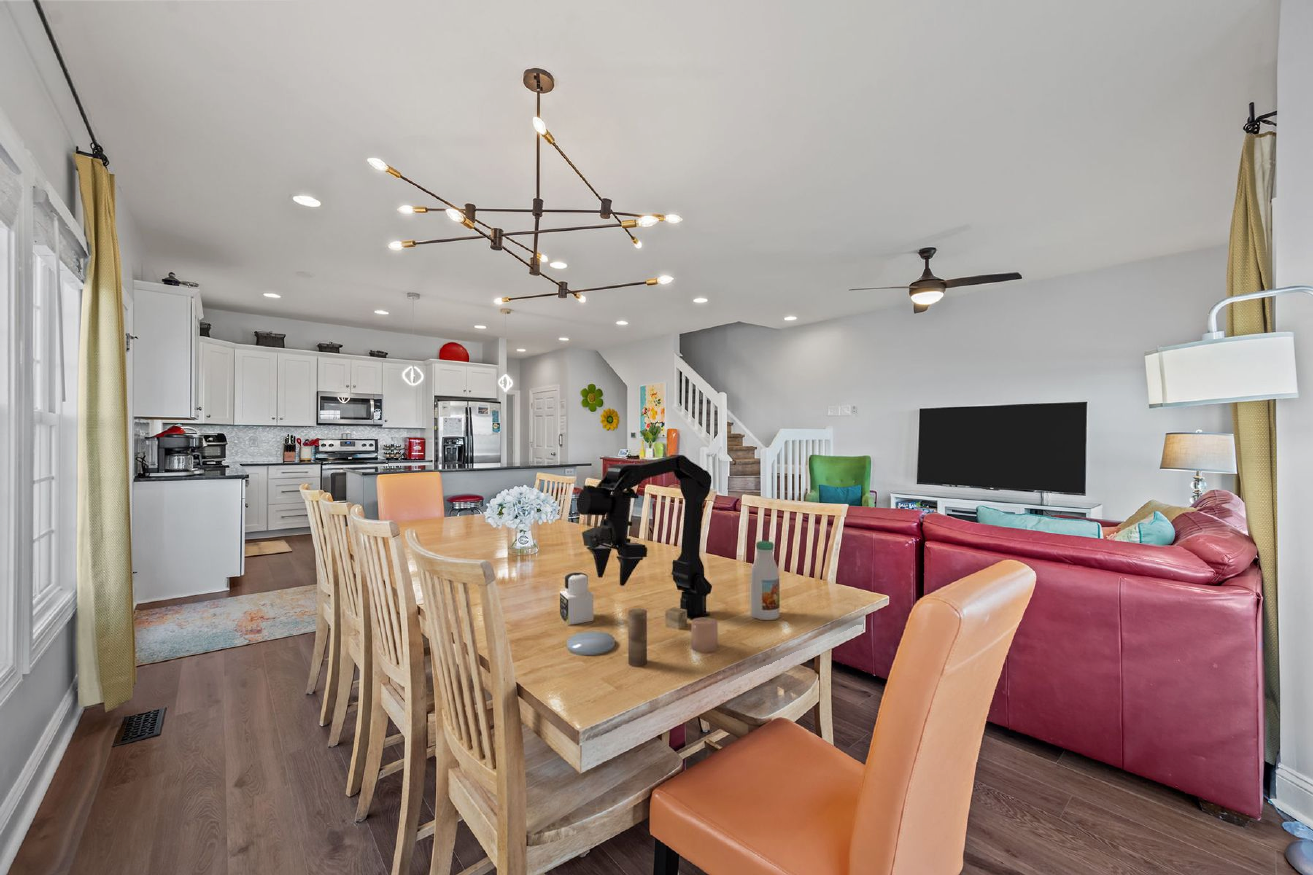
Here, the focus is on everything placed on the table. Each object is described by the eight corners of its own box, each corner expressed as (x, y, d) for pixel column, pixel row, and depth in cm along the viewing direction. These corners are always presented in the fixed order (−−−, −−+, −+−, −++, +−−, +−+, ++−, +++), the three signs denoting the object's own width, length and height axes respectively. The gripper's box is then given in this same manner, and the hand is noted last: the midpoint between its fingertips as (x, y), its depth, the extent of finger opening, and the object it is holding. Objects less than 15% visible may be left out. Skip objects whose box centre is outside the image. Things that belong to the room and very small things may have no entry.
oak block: (673, 622, 138) (673, 606, 138) (686, 625, 136) (686, 609, 136) (665, 626, 135) (665, 611, 135) (678, 629, 132) (678, 614, 132)
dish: (600, 633, 130) (600, 628, 130) (623, 647, 121) (623, 642, 121) (559, 643, 124) (559, 637, 124) (580, 659, 115) (580, 653, 115)
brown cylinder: (640, 657, 116) (640, 607, 116) (650, 663, 113) (650, 612, 113) (624, 661, 114) (624, 610, 114) (634, 668, 110) (634, 616, 110)
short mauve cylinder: (706, 640, 125) (706, 615, 125) (723, 649, 120) (723, 622, 120) (686, 646, 122) (686, 620, 122) (702, 655, 117) (702, 628, 117)
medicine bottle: (559, 617, 142) (559, 572, 142) (584, 612, 145) (584, 569, 145) (567, 625, 135) (567, 579, 135) (593, 621, 139) (593, 575, 138)
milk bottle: (750, 620, 139) (750, 544, 139) (750, 610, 147) (750, 539, 146) (780, 621, 138) (780, 545, 138) (778, 612, 145) (778, 539, 145)
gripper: (568, 510, 129) (561, 574, 128) (612, 520, 115) (605, 592, 114) (606, 512, 136) (599, 573, 135) (651, 521, 122) (645, 589, 121)
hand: (610, 581), depth 126 cm, fingers open, 9 cm apart
